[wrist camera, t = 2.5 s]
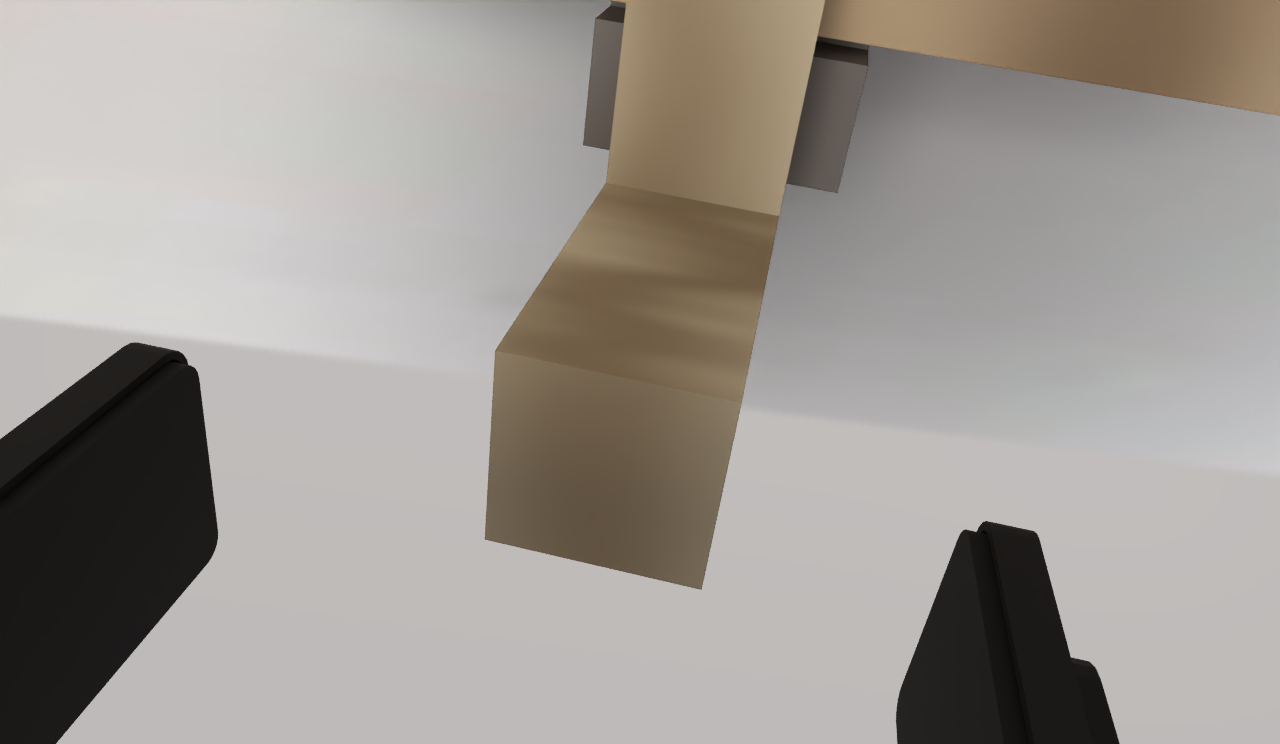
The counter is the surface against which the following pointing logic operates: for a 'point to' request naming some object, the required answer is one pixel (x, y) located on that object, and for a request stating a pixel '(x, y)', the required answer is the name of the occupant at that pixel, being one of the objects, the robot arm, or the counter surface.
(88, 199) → the counter surface
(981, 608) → the robot arm
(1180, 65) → the lid
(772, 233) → the bent tan strip
